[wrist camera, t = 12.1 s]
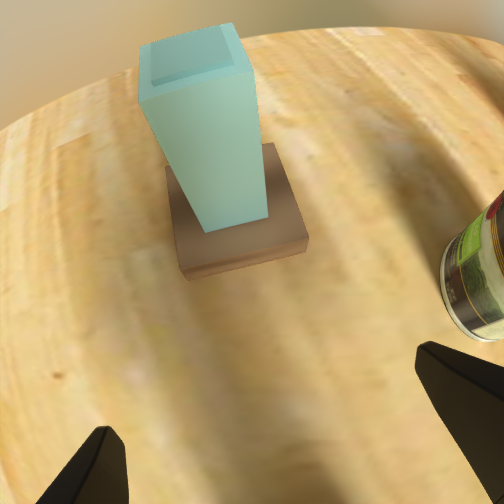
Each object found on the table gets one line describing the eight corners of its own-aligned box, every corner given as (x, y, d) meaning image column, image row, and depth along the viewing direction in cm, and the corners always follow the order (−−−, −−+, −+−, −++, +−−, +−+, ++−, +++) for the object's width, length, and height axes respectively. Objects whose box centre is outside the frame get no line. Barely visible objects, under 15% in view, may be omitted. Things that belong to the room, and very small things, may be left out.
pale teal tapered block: (268, 217, 22) (253, 64, 10) (205, 232, 22) (135, 95, 10) (253, 166, 24) (231, 16, 12) (195, 180, 24) (138, 41, 12)
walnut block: (304, 254, 25) (309, 237, 22) (189, 282, 24) (179, 268, 21) (272, 164, 28) (273, 142, 26) (173, 187, 28) (165, 166, 25)
